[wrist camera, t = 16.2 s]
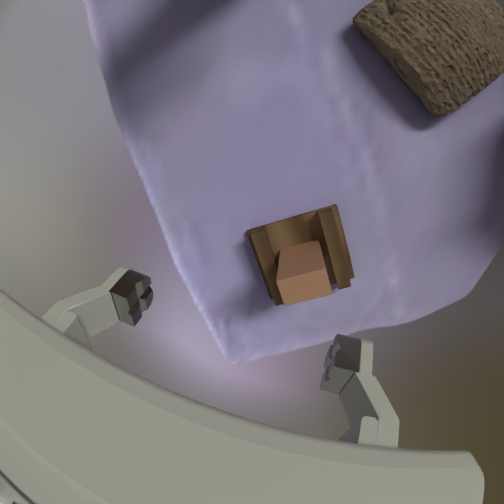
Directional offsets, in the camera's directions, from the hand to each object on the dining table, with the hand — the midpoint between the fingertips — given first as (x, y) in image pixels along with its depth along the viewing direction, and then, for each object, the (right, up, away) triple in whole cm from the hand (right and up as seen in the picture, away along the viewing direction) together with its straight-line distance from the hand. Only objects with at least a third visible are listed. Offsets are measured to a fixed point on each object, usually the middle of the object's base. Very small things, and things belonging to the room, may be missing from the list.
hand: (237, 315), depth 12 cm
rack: (+8, +2, +34) cm, 35 cm away
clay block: (+8, +2, +33) cm, 34 cm away
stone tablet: (+32, +38, +18) cm, 53 cm away
